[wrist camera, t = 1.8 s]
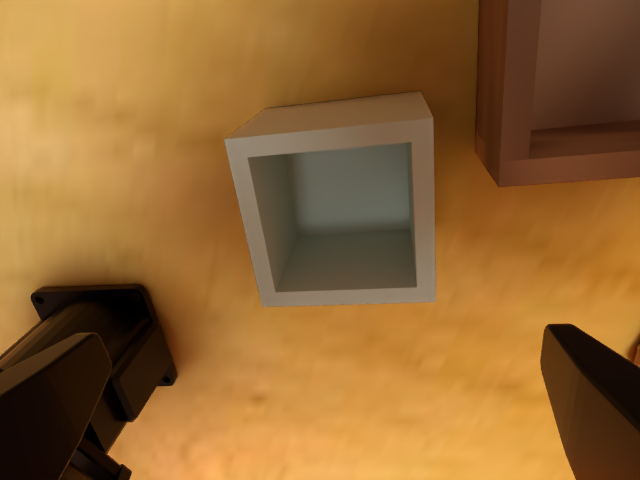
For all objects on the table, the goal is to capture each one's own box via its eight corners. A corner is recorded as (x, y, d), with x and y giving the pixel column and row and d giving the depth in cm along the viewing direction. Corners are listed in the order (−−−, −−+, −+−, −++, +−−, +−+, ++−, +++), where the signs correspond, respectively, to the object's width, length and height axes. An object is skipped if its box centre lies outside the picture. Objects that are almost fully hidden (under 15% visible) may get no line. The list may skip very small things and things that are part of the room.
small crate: (289, 242, 20) (261, 307, 15) (265, 108, 17) (223, 139, 13) (424, 235, 19) (436, 302, 14) (420, 91, 16) (433, 118, 12)
